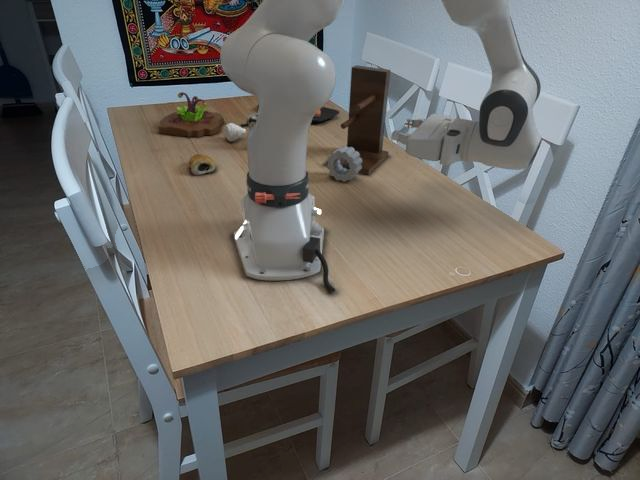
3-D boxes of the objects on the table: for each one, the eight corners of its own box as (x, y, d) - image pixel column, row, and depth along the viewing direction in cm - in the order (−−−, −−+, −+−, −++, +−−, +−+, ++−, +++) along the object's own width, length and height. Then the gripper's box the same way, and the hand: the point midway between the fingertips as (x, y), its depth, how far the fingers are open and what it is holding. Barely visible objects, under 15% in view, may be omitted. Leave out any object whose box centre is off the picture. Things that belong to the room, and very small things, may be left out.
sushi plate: (342, 116, 161) (343, 105, 159) (291, 140, 140) (291, 128, 138) (279, 101, 174) (278, 91, 172) (224, 121, 153) (223, 110, 151)
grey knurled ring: (354, 184, 115) (357, 154, 111) (326, 177, 118) (327, 148, 114) (361, 178, 118) (363, 149, 114) (333, 172, 121) (334, 143, 117)
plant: (172, 116, 157) (167, 83, 151) (228, 118, 156) (225, 85, 150) (152, 136, 140) (145, 100, 134) (214, 138, 140) (210, 102, 134)
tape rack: (368, 175, 120) (376, 83, 107) (326, 165, 125) (330, 76, 111) (388, 156, 131) (397, 70, 118) (349, 148, 136) (354, 64, 123)
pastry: (186, 162, 124) (185, 149, 122) (211, 159, 126) (209, 146, 124) (192, 176, 117) (190, 162, 115) (218, 173, 119) (216, 159, 117)
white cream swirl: (249, 141, 139) (248, 123, 136) (231, 144, 136) (229, 126, 133) (243, 135, 143) (241, 118, 140) (225, 138, 140) (223, 121, 137)
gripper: (471, 112, 105) (414, 103, 110) (450, 140, 90) (385, 128, 95) (466, 138, 109) (411, 128, 114) (444, 169, 94) (382, 156, 99)
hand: (399, 128), depth 104 cm, fingers open, 8 cm apart
